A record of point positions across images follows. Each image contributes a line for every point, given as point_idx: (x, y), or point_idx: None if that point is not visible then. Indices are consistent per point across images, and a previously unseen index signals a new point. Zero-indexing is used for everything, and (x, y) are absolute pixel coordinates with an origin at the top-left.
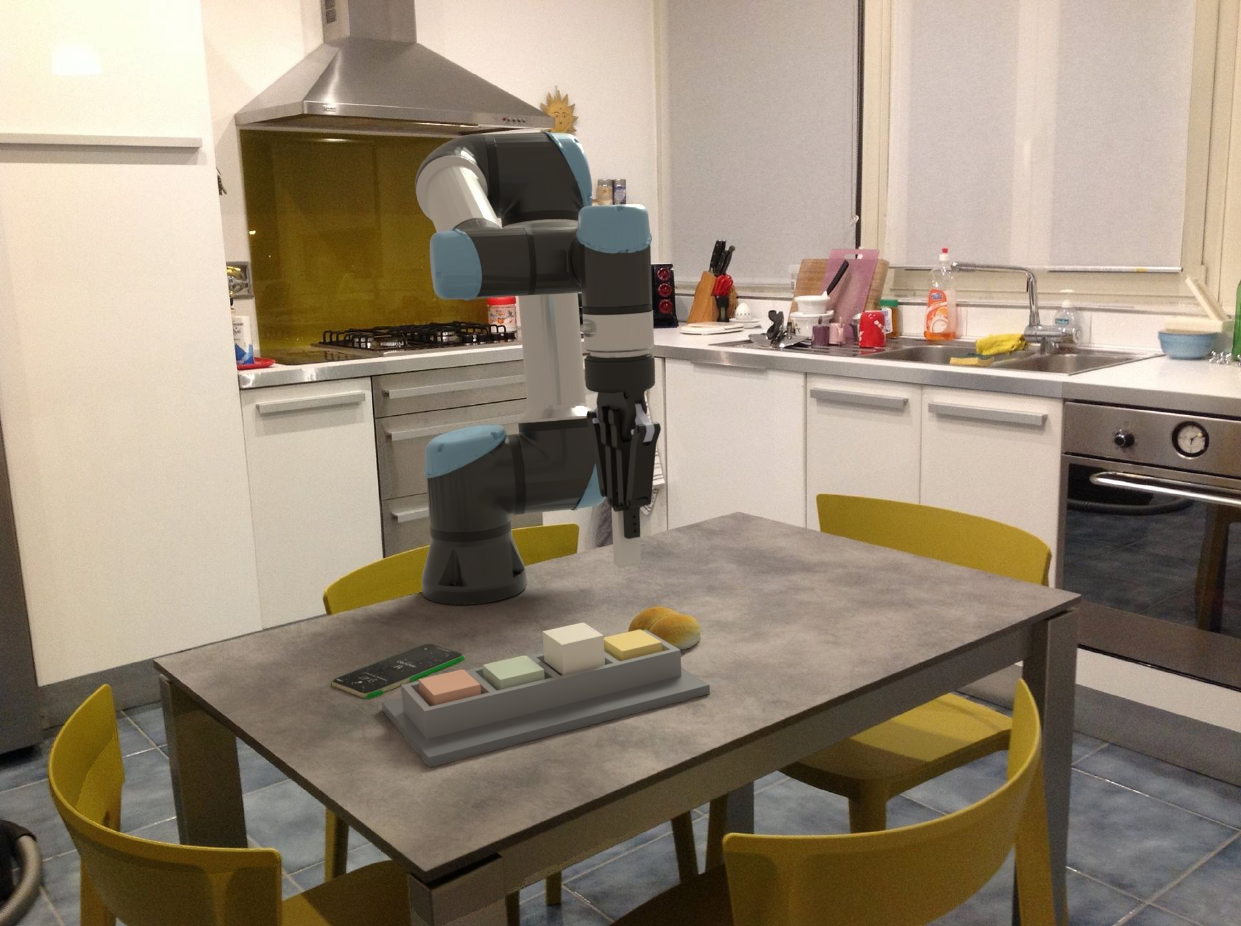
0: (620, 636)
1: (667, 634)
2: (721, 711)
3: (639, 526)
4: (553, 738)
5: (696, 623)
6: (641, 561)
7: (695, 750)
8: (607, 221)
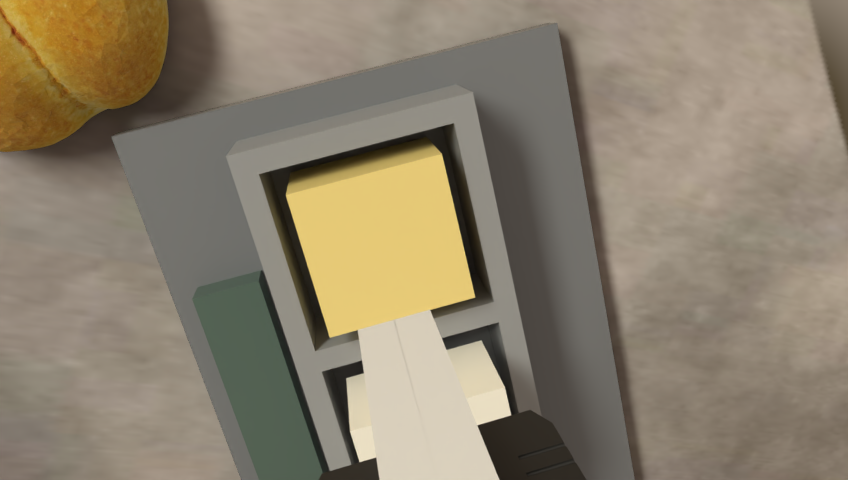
0: (336, 276)
1: (148, 43)
2: (671, 33)
3: (567, 454)
4: (639, 449)
5: None
6: (431, 314)
7: (835, 169)
8: None
